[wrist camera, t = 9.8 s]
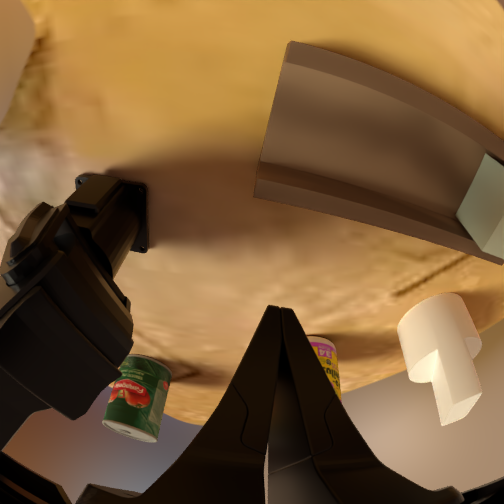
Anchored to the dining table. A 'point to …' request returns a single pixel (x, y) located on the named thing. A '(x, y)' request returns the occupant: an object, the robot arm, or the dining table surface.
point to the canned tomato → (138, 398)
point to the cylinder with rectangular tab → (443, 352)
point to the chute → (371, 149)
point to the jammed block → (485, 207)
